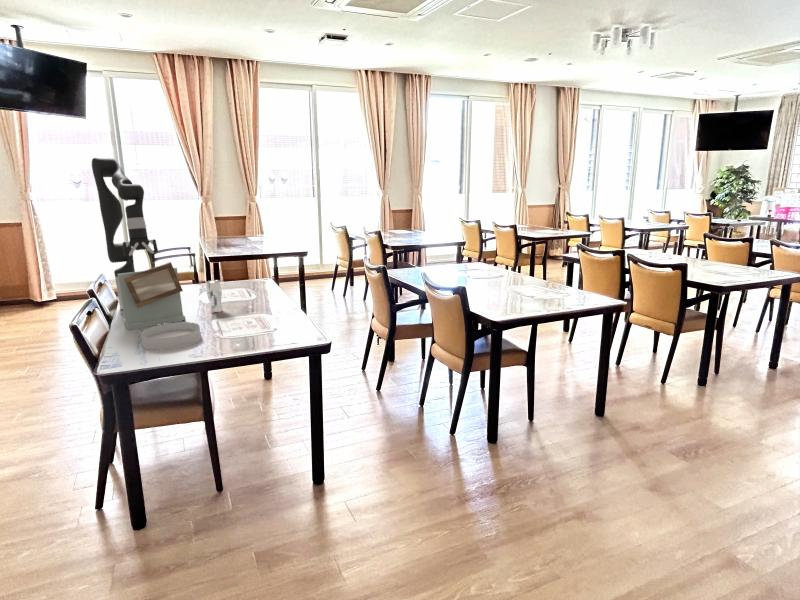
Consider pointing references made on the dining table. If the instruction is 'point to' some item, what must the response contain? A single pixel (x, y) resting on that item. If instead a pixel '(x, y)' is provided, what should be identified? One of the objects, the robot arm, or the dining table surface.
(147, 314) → the board
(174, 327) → the dish
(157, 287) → the frame
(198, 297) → the dining table surface
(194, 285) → the dining table surface
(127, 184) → the robot arm
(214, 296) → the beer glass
